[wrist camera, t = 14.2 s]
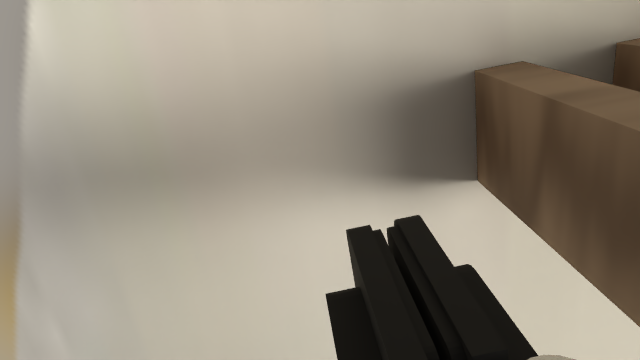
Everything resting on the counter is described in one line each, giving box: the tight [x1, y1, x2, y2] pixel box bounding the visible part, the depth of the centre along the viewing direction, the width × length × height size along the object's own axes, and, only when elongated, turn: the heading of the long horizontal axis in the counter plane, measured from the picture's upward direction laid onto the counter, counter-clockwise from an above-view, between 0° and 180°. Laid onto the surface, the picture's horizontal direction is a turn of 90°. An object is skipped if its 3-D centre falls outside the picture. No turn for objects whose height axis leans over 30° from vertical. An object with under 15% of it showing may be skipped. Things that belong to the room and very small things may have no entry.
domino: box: [475, 61, 640, 327], centre depth 14 cm, size 5×2×10 cm, turn 10°
